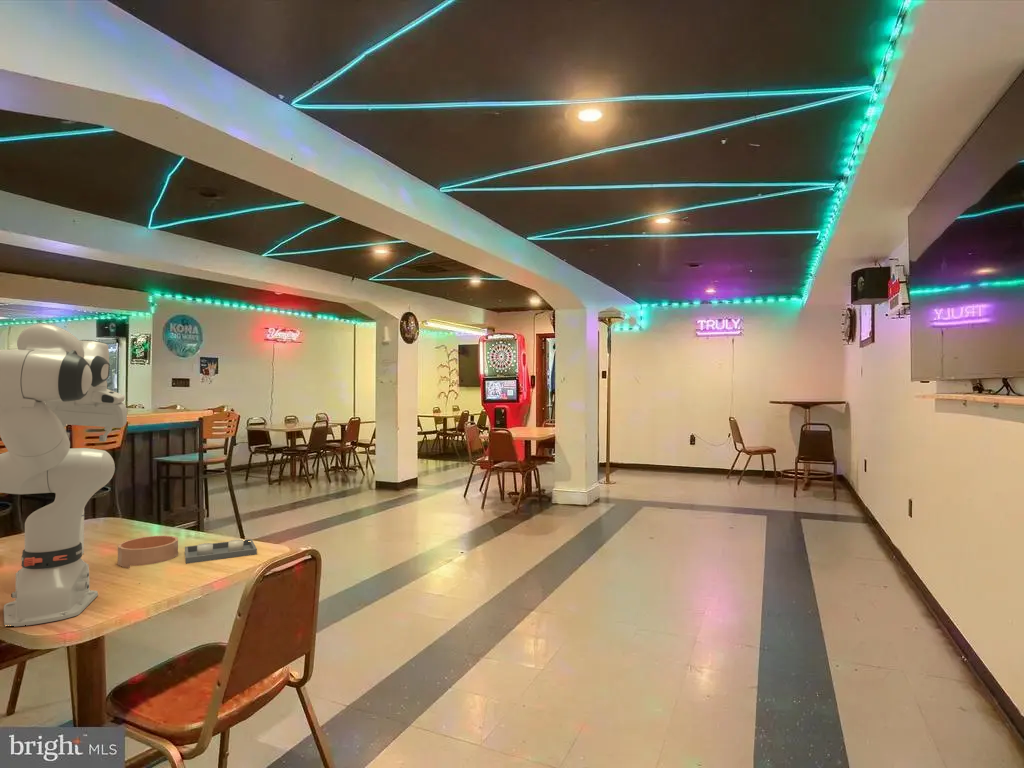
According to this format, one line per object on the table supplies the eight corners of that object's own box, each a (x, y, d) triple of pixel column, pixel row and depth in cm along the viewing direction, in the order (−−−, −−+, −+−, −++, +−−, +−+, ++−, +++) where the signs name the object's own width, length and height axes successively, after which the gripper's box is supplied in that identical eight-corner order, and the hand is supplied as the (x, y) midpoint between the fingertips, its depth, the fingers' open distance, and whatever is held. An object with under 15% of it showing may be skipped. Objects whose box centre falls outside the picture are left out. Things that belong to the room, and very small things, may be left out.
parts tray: (256, 556, 188) (256, 548, 188) (185, 566, 177) (185, 557, 177) (251, 546, 200) (251, 538, 200) (184, 554, 189) (184, 546, 189)
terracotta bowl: (178, 562, 181) (178, 545, 181) (116, 570, 172) (116, 552, 172) (177, 549, 194) (177, 533, 194) (119, 556, 186) (120, 539, 186)
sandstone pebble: (244, 551, 190) (244, 542, 190) (228, 553, 188) (229, 544, 188) (242, 548, 194) (242, 538, 194) (227, 550, 192) (227, 540, 192)
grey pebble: (213, 555, 185) (213, 545, 185) (197, 557, 183) (197, 547, 183) (212, 552, 189) (212, 542, 189) (196, 554, 187) (196, 544, 187)
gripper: (41, 392, 166) (37, 439, 167) (124, 398, 173) (120, 444, 174) (50, 389, 172) (46, 435, 173) (130, 396, 179) (126, 440, 180)
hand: (84, 440), depth 173 cm, fingers open, 8 cm apart
